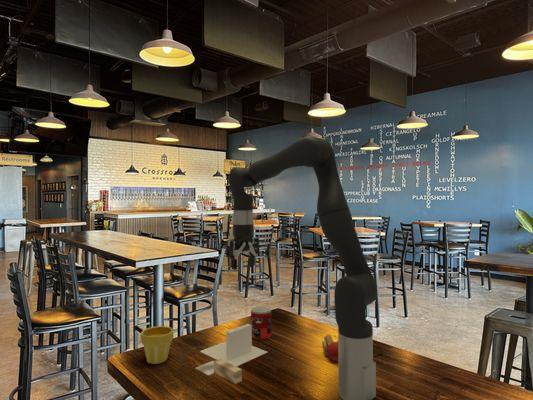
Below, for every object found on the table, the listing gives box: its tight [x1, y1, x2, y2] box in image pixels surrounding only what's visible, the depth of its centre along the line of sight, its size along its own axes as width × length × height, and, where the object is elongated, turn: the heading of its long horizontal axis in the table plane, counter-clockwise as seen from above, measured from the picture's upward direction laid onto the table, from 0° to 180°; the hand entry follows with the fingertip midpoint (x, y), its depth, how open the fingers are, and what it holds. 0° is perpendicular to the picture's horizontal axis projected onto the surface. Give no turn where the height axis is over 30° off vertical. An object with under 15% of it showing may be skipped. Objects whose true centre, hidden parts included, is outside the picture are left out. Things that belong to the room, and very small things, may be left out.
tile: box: [225, 323, 253, 360], centre depth 125 cm, size 2×10×9 cm, turn 136°
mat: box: [199, 341, 268, 367], centre depth 128 cm, size 18×16×1 cm
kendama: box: [321, 334, 338, 362], centre depth 128 cm, size 8×6×18 cm
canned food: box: [250, 306, 272, 341], centre depth 142 cm, size 8×8×11 cm
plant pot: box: [140, 325, 174, 365], centre depth 123 cm, size 10×10×10 cm
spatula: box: [195, 359, 243, 385], centre depth 112 cm, size 17×7×4 cm, turn 47°
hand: (243, 267), depth 131 cm, fingers open, 8 cm apart
